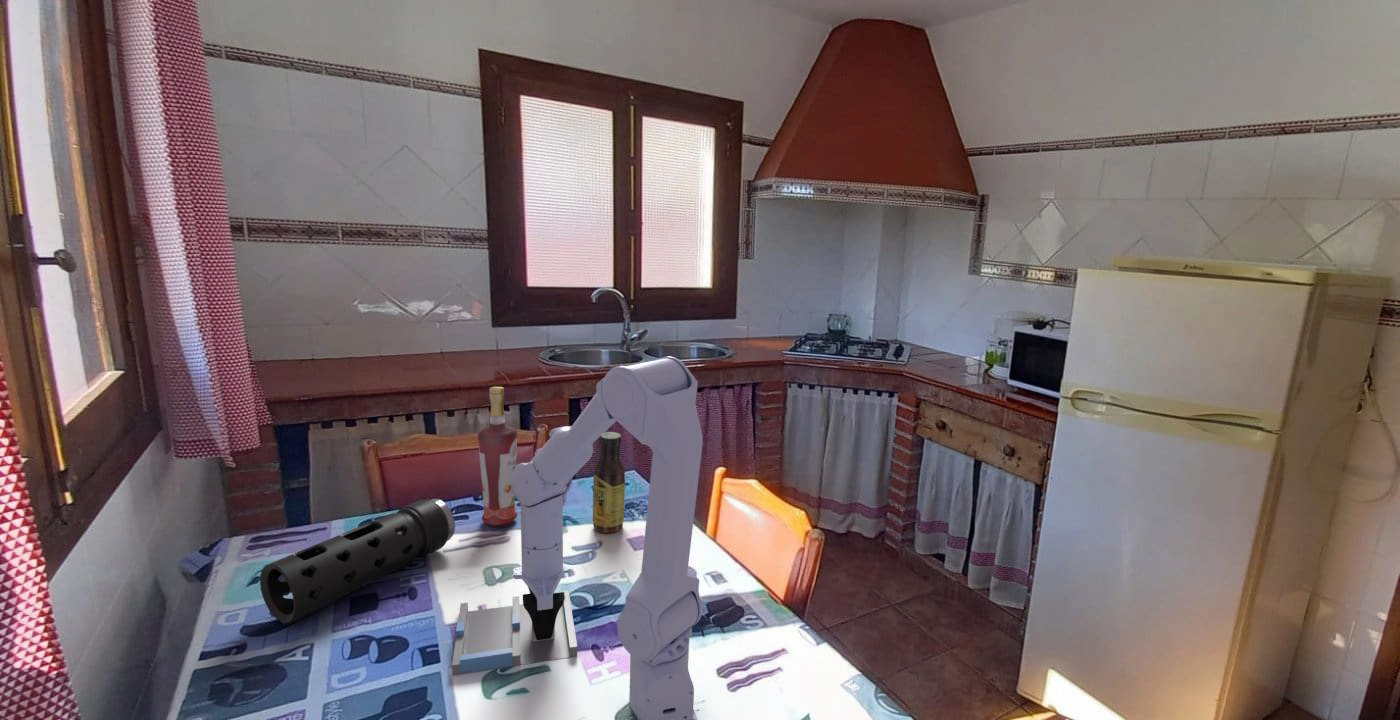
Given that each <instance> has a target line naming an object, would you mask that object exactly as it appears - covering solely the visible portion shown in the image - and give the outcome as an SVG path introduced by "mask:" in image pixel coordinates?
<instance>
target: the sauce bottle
mask: <svg viewBox="0 0 1400 720" xmlns="http://www.w3.org/2000/svg"><path fill="white" fill-rule="evenodd" d="M599 438H600V439H599V442H600V453H599V454H600V456H599V457H598V460H597V463H596V465H595V468H594V471H593V483H592V484H593V487H592V522H593V523H592V524H593V528H594V530H595V531H597V532H598V533H600V534H612V533H616V532H618V531H620V530H621V529H623V525H624V518H625V517H624V516H625V514H624V513H625V497H626V495H625V491H626V479H625V477H626V475H625V474H626V473H625V472H626V466H625V464H624V462H623V460H622V458H621V457H620V456H621V442H622V434H621V433H619V432H614V431H605V432H604V433H603V434H602V435H601V436H600V437H599Z"/></svg>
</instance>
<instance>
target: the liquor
mask: <svg viewBox="0 0 1400 720" xmlns="http://www.w3.org/2000/svg"><path fill="white" fill-rule="evenodd" d="M504 399H505V389H504V387H503V386H491V387H489V400H490V414H489V417H490V418H489V426H487V427H484V428H483V429H481V431H479V432H478V434H477V438H478V439H477V441H478V453H479V455H478V456H479V466H480V475H481V488H482V499H483V500H482V502H483V514H482V516H481V520H482V522H484V523H485V524H486V525H488V526H489V527H491V528H503V527H506V526H508V525H510V524H512V523H513V522H514V521H515V519H516V518H517V517H518V512H517V511H516V497H515V495H514V493H513V490H512V486H511V475H512V472H513V470H514V469H515V466H516V465H517V451H518V450H517V445H518V444H517V443H518V441H517V440H518V432H517V430H516V429H514V428H513V427H511V426H509V425H507V424H506V417H505V410H504V409H505V408H504Z"/></svg>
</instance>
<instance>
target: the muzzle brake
mask: <svg viewBox="0 0 1400 720" xmlns="http://www.w3.org/2000/svg"><path fill="white" fill-rule="evenodd" d="M455 530H456V522H455V518H454V514H453V512H452V510H451V508H450V507H449V506H448V505H447V503H445V502H444V500H442V499H439V498H432V499H427V498H426V499H425V498H424V499H419V500H417V501H415V502H412V503H410V504H407V505H405V506H402V507H401V508H400V509H398V510H397V511H396V512H394V513H393V512H392V513H390V514H387V515H385V516H382V517H380V518H377V519H375V520H373V521H369V522H368V523H365V524H362V525H360V526H358V527H356V528H355V527H354V528H353V529H351V530H348V531H346V532H344V533H341V534H337V535H336V536H334V537H331V538H329V539H326V540H324V541H321V542H319V543H316V544H314V545H312V546H309V547H307V548H304V549H302V550H299V551H297V552H295V553H292V554H290V555H287V556H285V557H282V558H280V559H278V560H275V561H273V562H270V563H268V564H265V565H264V566H263V567H262V568H261V569H262V570H261V572H260V576H259V584H260V590H261V591H260V592H261V596H262V598H263V602H264V603H265V605H266V607H267V609H268V611H269V612H270V613H271V614H272V616H273V617H274V618H275V619H276V620H278V621H279V622H280V623H282V625H285V626H290V625H291V624H294V623H296V622H298V621H300V620H302V619H304V618H306V617H307V616H310V615H311V614H313V613H315V612H317V611H319V610H322V609H324V608H325V607H328V606H330V605H331V604H334V603H335V602H337V601H340V600H341V599H343V598H345V597H347V596H348V595H349V594H350V593H352V592H354V591H356V590H361V589H364V587H365V586H366V585H368V584H369V583H372V582H373V581H375V580H377V579H380V578H382V577H383V576H384V577H385V576H386V575H387V574H390V573H392V572H393V571H394V572H400V571H401V570H403V569H405V568H408V567H409V566H411V565H413V564H414V563H415V560H416V559H419V558H420V559H422V558H425V557H427V556H428V555H431V554H433V553H435V552H436V551H439V550H441V549H442V548H444V546H445V545H446V543H447V542H448V541H450V540H451V539H452V538H453V536H454V534H455ZM281 576H283V577H284V578H283V580H279V578H280V577H281ZM289 594H291V596H292V598H288V597H287V598H286V597H284V596H289Z"/></svg>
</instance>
